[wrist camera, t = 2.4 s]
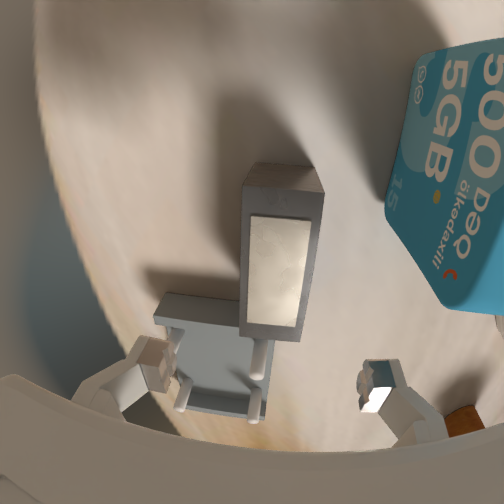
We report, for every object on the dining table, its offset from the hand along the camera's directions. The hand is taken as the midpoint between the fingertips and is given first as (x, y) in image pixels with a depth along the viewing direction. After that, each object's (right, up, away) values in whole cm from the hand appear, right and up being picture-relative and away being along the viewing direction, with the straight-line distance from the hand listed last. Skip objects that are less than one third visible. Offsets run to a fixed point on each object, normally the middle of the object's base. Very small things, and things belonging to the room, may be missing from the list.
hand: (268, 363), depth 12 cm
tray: (-4, -6, +17) cm, 18 cm away
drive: (+1, +6, +10) cm, 12 cm away
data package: (+12, +12, +5) cm, 18 cm away
